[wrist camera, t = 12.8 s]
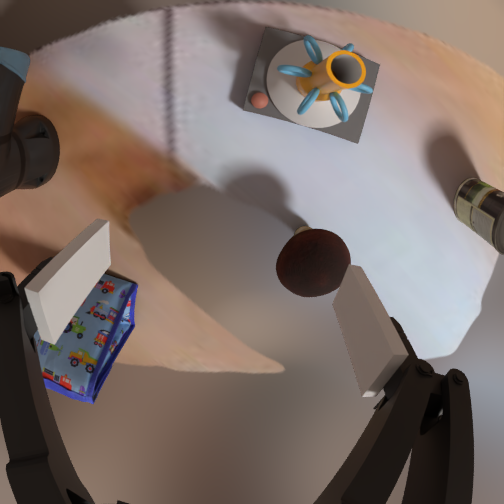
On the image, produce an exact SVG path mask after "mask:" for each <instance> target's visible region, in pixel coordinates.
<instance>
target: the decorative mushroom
mask: <svg viewBox="0 0 504 504" xmlns="http://www.w3.org/2000/svg"><path fill="white" fill-rule="evenodd" d="M349 264H350V265H351V258H350V253H349V250H348V248H347V246H346V244H345V243H344V241H343V240H342V239H341V238H340V237H339V236H338V235H337V234H335V233H333V232H330V231H328V230H324V229H312V228H310V227H307V226H302V227H300V228H298V229H297V230H296V231H295V233H294V236H293V237H292V238H291V239H290V240H289V241H288V242H287V243H286V245H285V246H284V247H283V249H282V251H281V252H280V254H279V257H278V259H277V263H276V271H277V276H278V278H279V280H280V282H281V283H282V285H283V286H284V287H286V288H287V289H288V290H290V291H291V292H292V293H295V294H296V295H299V296H302V297H317V296H321V295H324V294H328V293H330V292H332V291H334V290H336V289H337V288H339V287H340V285H341V283H342V280H343V278H344V275H345V273H346V271H347V268H348V266H349Z"/></svg>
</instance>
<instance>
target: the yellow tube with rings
mask: <svg viewBox="0 0 504 504" xmlns="http://www.w3.org/2000/svg"><path fill="white" fill-rule="evenodd" d="M310 44H311V45H310ZM304 46H305V48H306V51H307V53H308V55H309V57H310V58H311V60H312V61H310V62H308V63H307V64H305V65H304V66H303V67H299V66H293V65H279V66H278V67H277V70H278V71H279V72H281V73H284V74H288V75H292V76H296V86H297V88H298V90H299V92H300V93H301V94H302V95H303V96H304V97H305V98H304V100H303V101H302V102H301V104H300V105H299V107H298V109H297V113H298V114H299V115H302V114H304V113H305V112H306V111H307V110H308V109H309V108H310V106H311V105H312V104H313V103H314V101H315V102H322V101H328V100H330V102H331V105H332V107H333V110H334V112H335V114H336V115H337V117H338V118H339V119H340V120H341V121H342V122H346V121H347V120H348V117H349V116H348V110H347V107H346V105H345V102H344V100H343V99H342V97H341V96H340V93H341V91H342V90H345V89H349V90H352V91H356V92H360V93H366V94H371V93H372V92H373V89H372V88H371V87H370V86H368V85H365V84H363V83H362V82H363V81H364V79H365V76H366V68H365V65H364V63H363V61H362V60H361V58H360V57H359V56H357V55H356V54H355V53H353V52H352V50H353V48H354V45H353V44H351V43H349V44H347V45H346V46H345V47H344V48H343V49H342V50H340V51H336V52H334V53H333V54H331V55H330V56H328V57H327V58H326V59H324V60H323V56H322V52H321V50H320V48H319V46H318V44H317V42H316V41H315V39H314V38H313V37H311V36H309V35H306V36H305V37H304ZM311 46H312V47H313V49H314V52H315V54H314V52H313V50H312V48H311ZM315 55H316V56H315ZM336 100H337V102H338V104H339V106H340V109H341V111H340V109H339V107H338V105H337V102H336ZM341 112H342V113H341Z"/></svg>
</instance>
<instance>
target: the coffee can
mask: <svg viewBox="0 0 504 504" xmlns="http://www.w3.org/2000/svg"><path fill="white" fill-rule="evenodd" d="M454 212H455V215H456V217H457V219H458V220H459V221H460V222H462V223H464V224H465V225H466V226H468V227H469V228H470V229H472V230H473V231H474V232H475V233H477V234H478V235H479V236H481V237H482V238H483V239H484V240H486V241H487V242H488V243H489V244H490V245H492V246H493V247H494V248H495V249H496V250H497V251H498V252H499V253H500V254H502V255H504V192H502V191H500V190H498V189H496V188H494V187H492V186H490V185H488V184H486V183H484V182H482V181H480V180H479V179H477V178H469V179H467V180H465V181H464V182H463V183H462V184H461V185H460V186H459V188H458V190H457V192H456V195H455V198H454Z"/></svg>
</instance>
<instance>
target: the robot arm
mask: <svg viewBox="0 0 504 504" xmlns="http://www.w3.org/2000/svg"><path fill="white" fill-rule="evenodd" d="M29 65H30V58H29V56H28V55H27V54H26V53H23V52H21V51H17V50H14V49H10V48H5V47H0V197H2V196H4V195H5V194H7V193H9V192H11V191H13V190H15V189H34V188H38V187H40V186H42V185H44V184H45V183H47V182H48V181H49V180H50V179H51V178H52V176H53V175H54V173H55V171H56V169H57V166H58V162H59V155H60V146H59V139H58V135H57V132H56V130H55V128H54V126H53V124H52V123H51V122H50V121H49V120H48V119H47V118H45V117H44V116H41V115H34V116H28V117H25V118H23V119H21V120H20V121H18V122H17V123H15V124H14V121H15V116H16V112H17V108H18V104H19V100H20V96H21V92H22V89H23V85H24V83H26V75H27V71H28V68H29ZM110 265H111V262H110V242H109V221H107V220H101V219H96V220H95V221H94V222H93V223H92V224H90V225H89V226H88V227H87V228H86V229H85V230H84V231H82V232H81V233H80V234H79V235H78V236H77V237H76V238H75V239H73V240H72V241H71V242H70V243H69V244H68V245H67V246H66V247H65V248H64V249H63V250H62V251H60V252H59V253H58V254H57V255H56V256H55V257H54V258H52V257H50V258H48V259H46V260H44V261H42V262H41V263H40V264H39V265H38V266H37V267H36V269H34V270H33V271H32V272H31V274H29V275H28V276H27V277H26V278H25V279H24V280H23V281H22V282H21V283H20V284H19V285H18V286H17V285H16V281H15V278H14V275H13V274H12V273H11V272H0V419H1V425H2V429H3V434H4V438H5V442H6V446H7V450H8V454H9V458H10V461H9V463H8V464H6V472H7V476H8V480H9V483H10V486H11V488H12V491H13V494H14V497H15V499H16V501H17V504H95V503H94V501H93V499H92V498H91V496H90V494H89V493H88V491H87V489H86V488H85V487H84V485H83V484H82V482H81V481H80V479H79V477H78V476H77V473H76V471H75V469H74V467H73V465H72V463H71V460H70V458H69V456H68V453H67V451H66V448H65V446H64V443H63V440H62V438H61V435H60V432H59V430H58V427H57V424H56V421H55V418H54V415H53V412H52V408H51V406H50V402H49V398H48V395H47V391H46V387H45V383H44V379H43V375H42V370H41V366H40V361H39V356H38V351H37V345H36V340H35V338H34V334H35V333H36V331H37V330H38V332H39V335H40V337H41V340H44V341H46V342H49V343H51V344H54V345H55V343H56V342H57V340H58V339H59V337H60V336H61V334H62V332H63V331H64V329H65V328H66V326H67V325H68V323H69V322H70V320H71V319H72V317H73V316H74V314H75V313H76V311H77V310H78V309H79V307H80V306H81V304H82V303H83V301H84V300H85V299H86V297H87V296H88V294H89V293H90V292H91V290H92V289H93V287H94V286H95V285H96V283H97V282H98V281H99V279H100V278H101V277H102V275H103V274H104V273H105V271H106V270H107V269H108V268H109V266H110ZM332 305H333V308H334V310H335V313H336V316H337V319H338V322H339V325H340V328H341V331H342V334H343V337H344V340H345V343H346V346H347V350H348V353H349V356H350V359H351V362H352V365H353V369H354V372H355V375H356V378H357V382H358V385H359V389H360V392H361V396H362V397H369V396H377V395H378V393H379V392H380V391H381V390H382V389H384V392H385V396H384V397H383V398H382V399H381V400H380V402H379V403H378V404H377V405H376V406H375V407H374V409H376V408H377V409H376V411H375V412H374V415H373V416H372V418H371V420H370V421H369V423H368V425H367V427H366V428H365V430H364V432H363V433H362V435H361V437H360V439H359V440H358V442H357V443H356V445H355V447H354V448H353V450H352V451H351V453H350V454H349V456H348V457H347V459H346V461H345V462H344V463H343V465H342V466H341V468H340V469H339V471H338V472H337V473H336V475H335V476H334V478H333V479H332V480H331V482H330V483H329V484H328V486H327V487H326V488H325V490H324V491H323V492H322V494H321V495H320V496H319V497H318V499H317V500H316V501H315V502H314V503H313V504H386V502H387V500H388V498H389V496H390V494H391V492H392V490H393V489H394V487H395V484H396V483H397V481H398V478H399V476H400V474H401V472H402V470H403V468H404V465H405V463H406V461H407V459H408V456H409V454H410V451H411V449H412V453H411V459H410V466H409V471H408V477H407V482H406V487H405V491H404V496H403V500H402V504H471V503H472V491H473V476H474V474H473V473H474V437H473V419H472V408H471V399H470V390H469V383H468V379H467V378H466V376H465V374H464V373H463V372H462V371H460V370H458V369H450V370H449V372H448V373H447V374H446V375H445V376H444V375H440V374H437V373H435V372H434V369H433V367H432V366H431V365H430V364H429V363H427V362H426V361H424V360H422V359H418V358H417V356H416V354H415V352H414V350H413V348H412V346H411V344H410V342H409V340H408V339H407V336H406V334H405V333H404V331H403V329H402V327H401V325H400V324H399V323H398V322H397V321H396V320H395V319H394V318H393V317H389V315H388V314H387V312H386V310H385V308H384V306H383V304H382V302H381V301H380V299H379V297H378V295H377V294H376V292H375V290H374V288H373V286H372V285H371V283H370V281H369V279H368V278H367V276H366V274H365V273H364V271H363V269H362V268H361V267H360V266H355V265H350V264H349V266H348V268H347V271H346V273H345V275H344V278H343V280H342V283H341V285H340V288H339V290H338V292H337V295H336V297H335V299H334V301H333V304H332ZM117 504H129V503H125V502H122V501H117Z"/></svg>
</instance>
